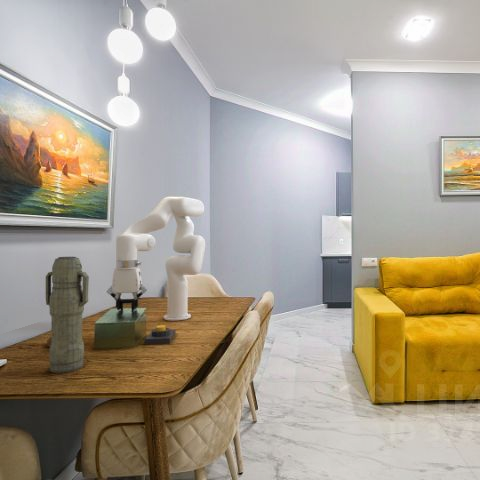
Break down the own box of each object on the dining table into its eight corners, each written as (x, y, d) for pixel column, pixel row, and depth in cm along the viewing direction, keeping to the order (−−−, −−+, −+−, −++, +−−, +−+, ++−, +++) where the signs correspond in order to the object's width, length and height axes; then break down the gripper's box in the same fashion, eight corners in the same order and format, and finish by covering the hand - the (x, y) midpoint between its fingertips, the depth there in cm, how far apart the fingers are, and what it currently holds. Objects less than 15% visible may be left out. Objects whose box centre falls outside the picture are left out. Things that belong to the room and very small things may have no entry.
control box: (152, 335, 146) (152, 326, 146) (175, 334, 148) (175, 325, 148) (144, 344, 134) (144, 334, 134) (169, 343, 136) (169, 333, 136)
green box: (110, 336, 143) (110, 315, 143) (146, 335, 146) (146, 314, 146) (94, 349, 128) (94, 325, 128) (134, 347, 131) (134, 324, 131)
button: (157, 329, 142) (157, 325, 142) (166, 329, 143) (166, 325, 143) (155, 332, 139) (155, 327, 139) (164, 331, 140) (164, 327, 140)
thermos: (82, 371, 108) (82, 258, 107) (37, 374, 105) (38, 258, 105) (93, 361, 117) (94, 256, 116) (53, 363, 114) (53, 256, 113)
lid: (111, 310, 144) (110, 297, 143) (146, 309, 147) (146, 297, 146) (94, 325, 128) (93, 311, 127) (134, 323, 131) (134, 310, 130)
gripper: (152, 263, 147) (152, 306, 148) (107, 263, 144) (107, 307, 145) (147, 265, 140) (147, 310, 141) (99, 265, 137) (100, 312, 137)
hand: (127, 308), depth 143 cm, fingers closed on lid, 5 cm apart
